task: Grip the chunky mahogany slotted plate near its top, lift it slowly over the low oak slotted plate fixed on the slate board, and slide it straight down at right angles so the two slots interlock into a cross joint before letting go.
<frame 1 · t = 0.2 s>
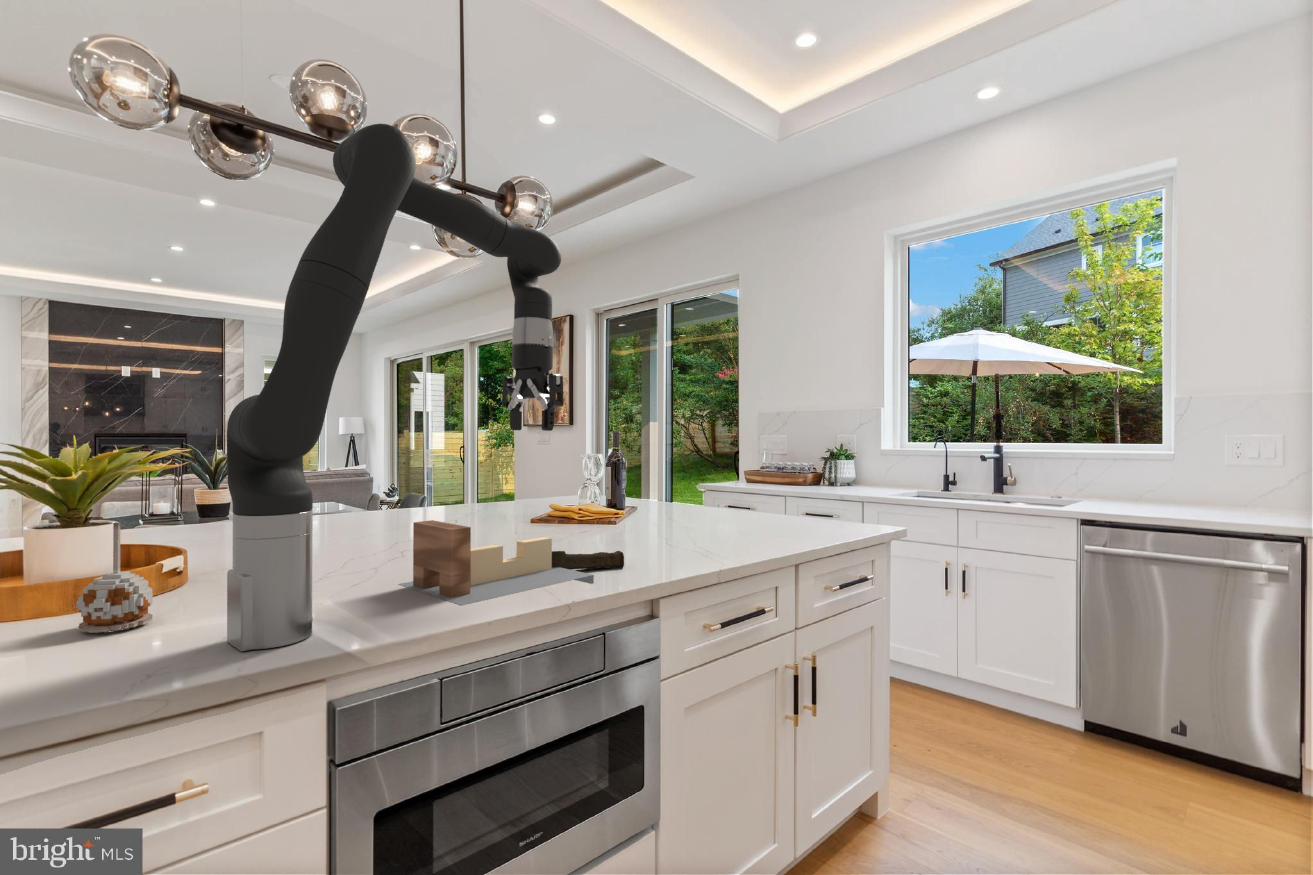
hand: (531, 430, 117), 29 cm above the worktop, fingers open, 8 cm apart
slotted plate stand: (499, 587, 113), on the worktop
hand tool: (581, 573, 127), on the worktop, touching slotted plate stand
decorative ornament: (116, 629, 89), on the worktop
mahogany slotted plate: (441, 589, 105), point 1 cm above the worktop, touching slotted plate stand
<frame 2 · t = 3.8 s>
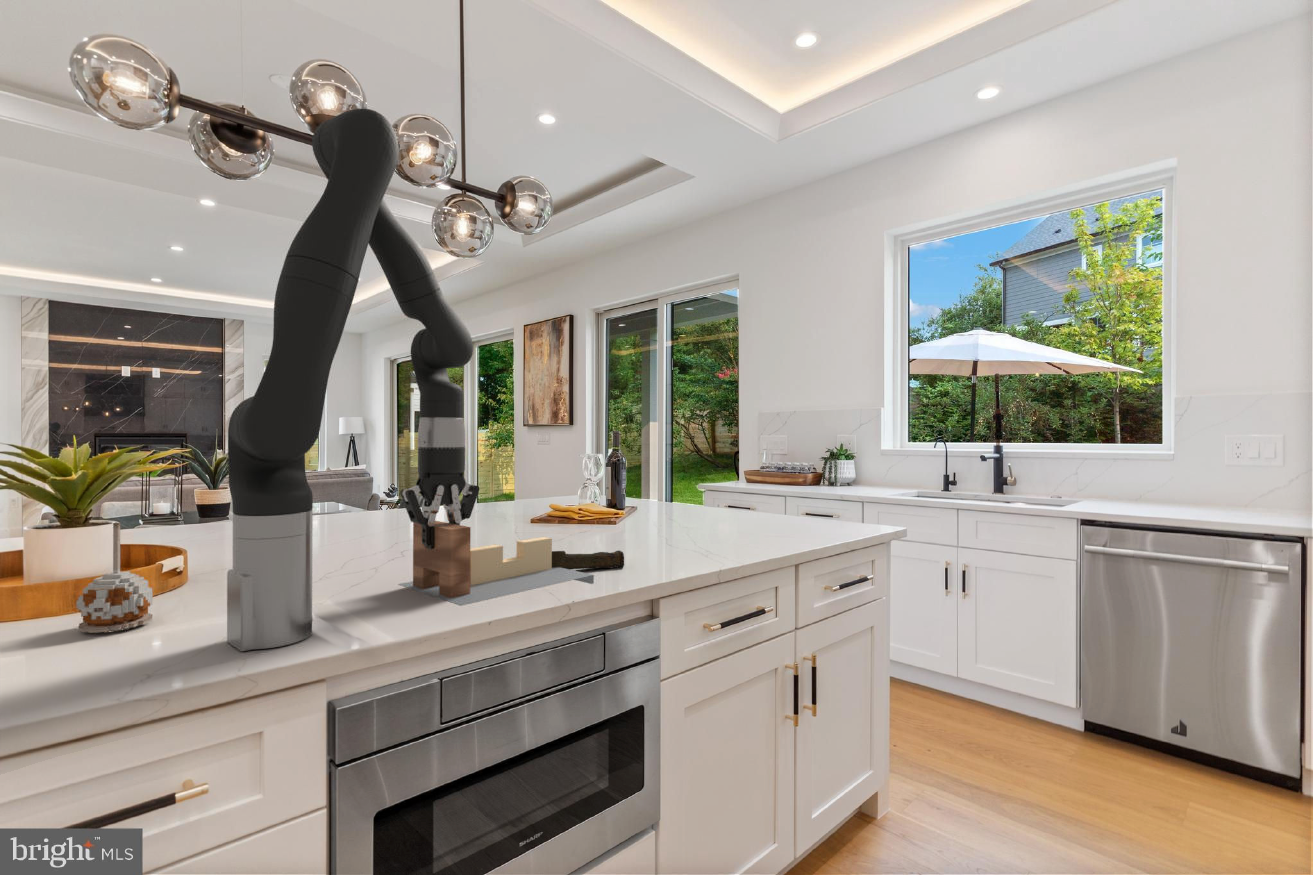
hand: (441, 546, 105), 9 cm above the worktop, fingers closed on mahogany slotted plate, 3 cm apart
mahogany slotted plate: (440, 589, 105), point 2 cm above the worktop, touching gripper
everything else where it was.
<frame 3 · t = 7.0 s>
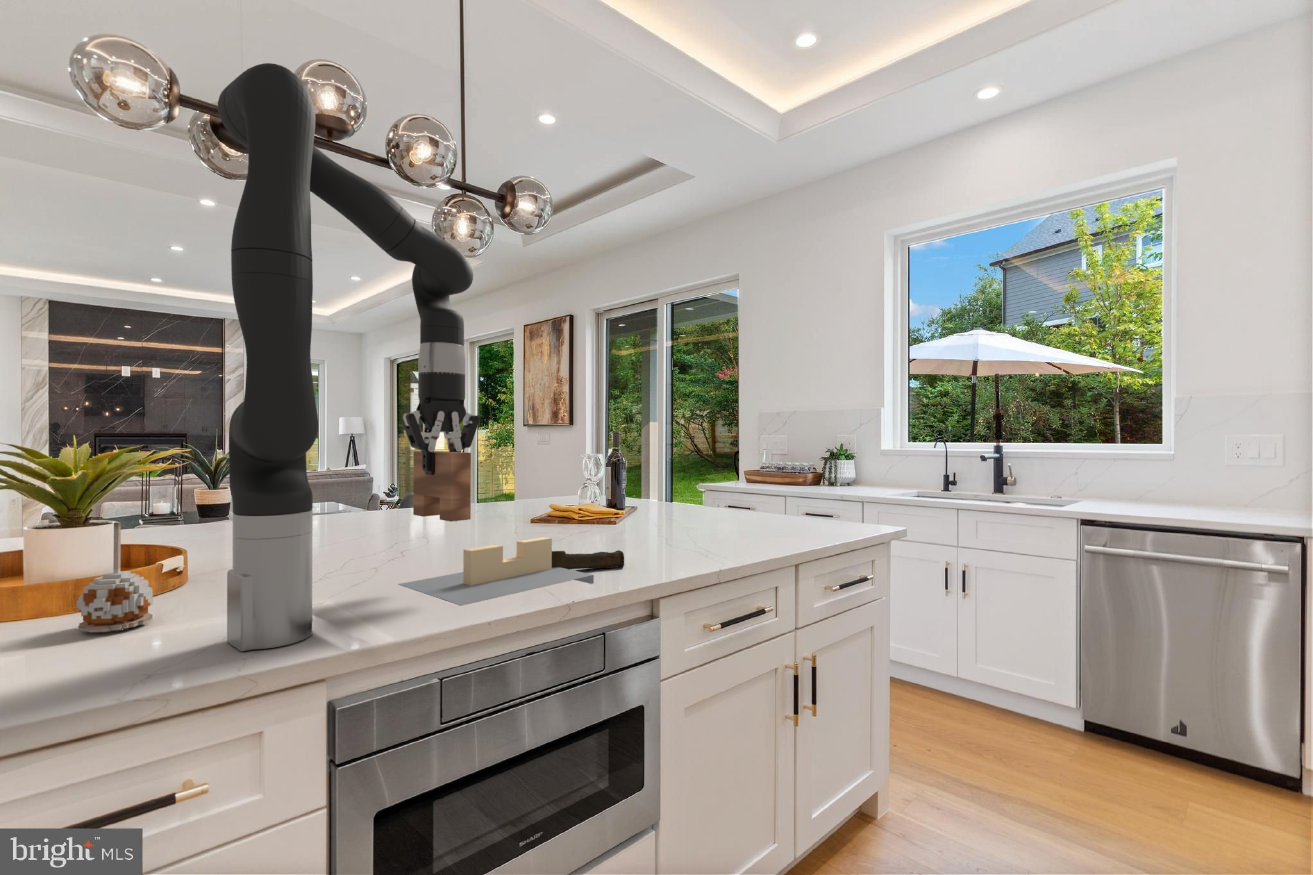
hand: (441, 473, 105), 21 cm above the worktop, fingers closed on mahogany slotted plate, 3 cm apart
mahogany slotted plate: (441, 517, 105), point 14 cm above the worktop, touching gripper
everything else where it was.
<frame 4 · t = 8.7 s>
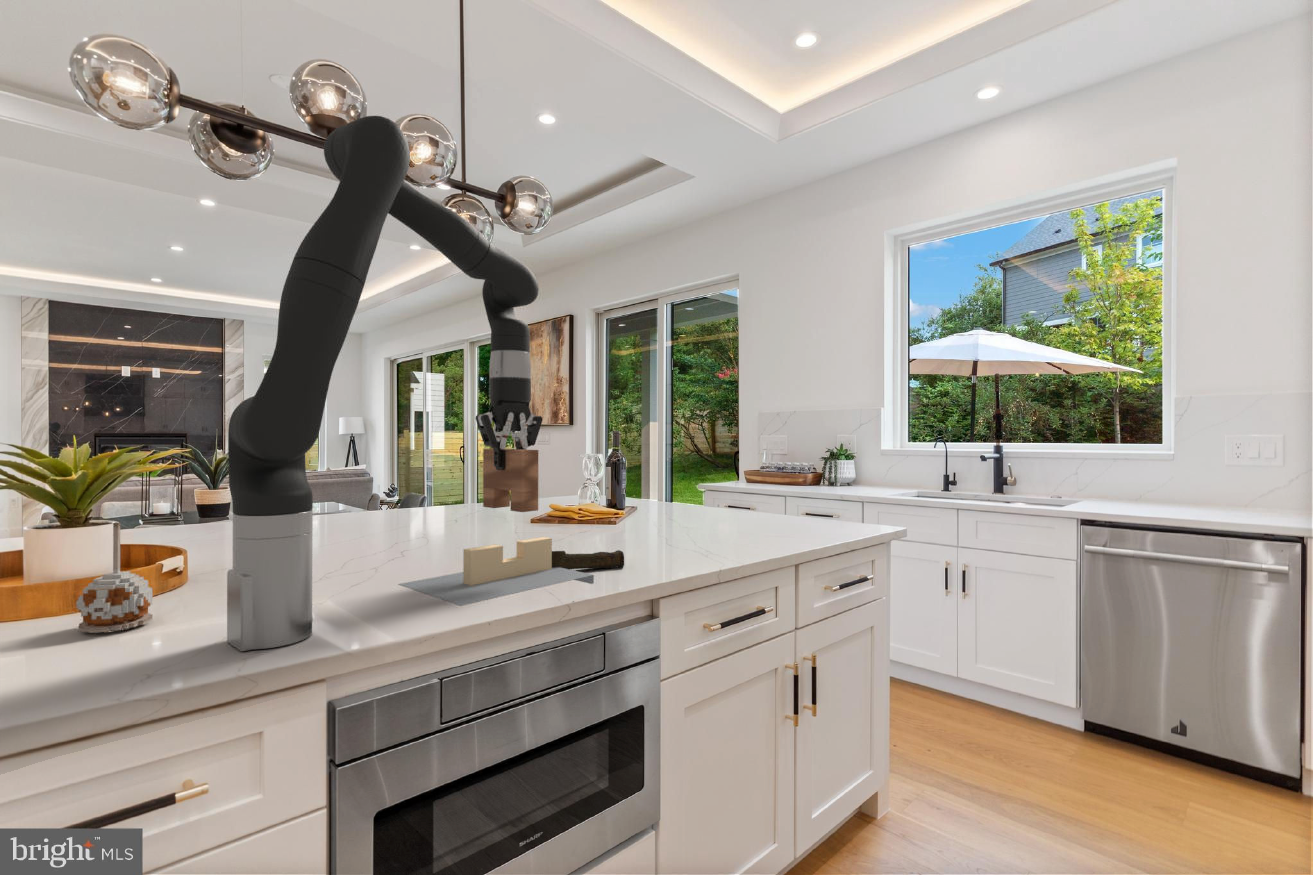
hand: (510, 469, 116), 21 cm above the worktop, fingers closed on mahogany slotted plate, 3 cm apart
mahogany slotted plate: (510, 508, 116), point 14 cm above the worktop, touching gripper
everything else where it was.
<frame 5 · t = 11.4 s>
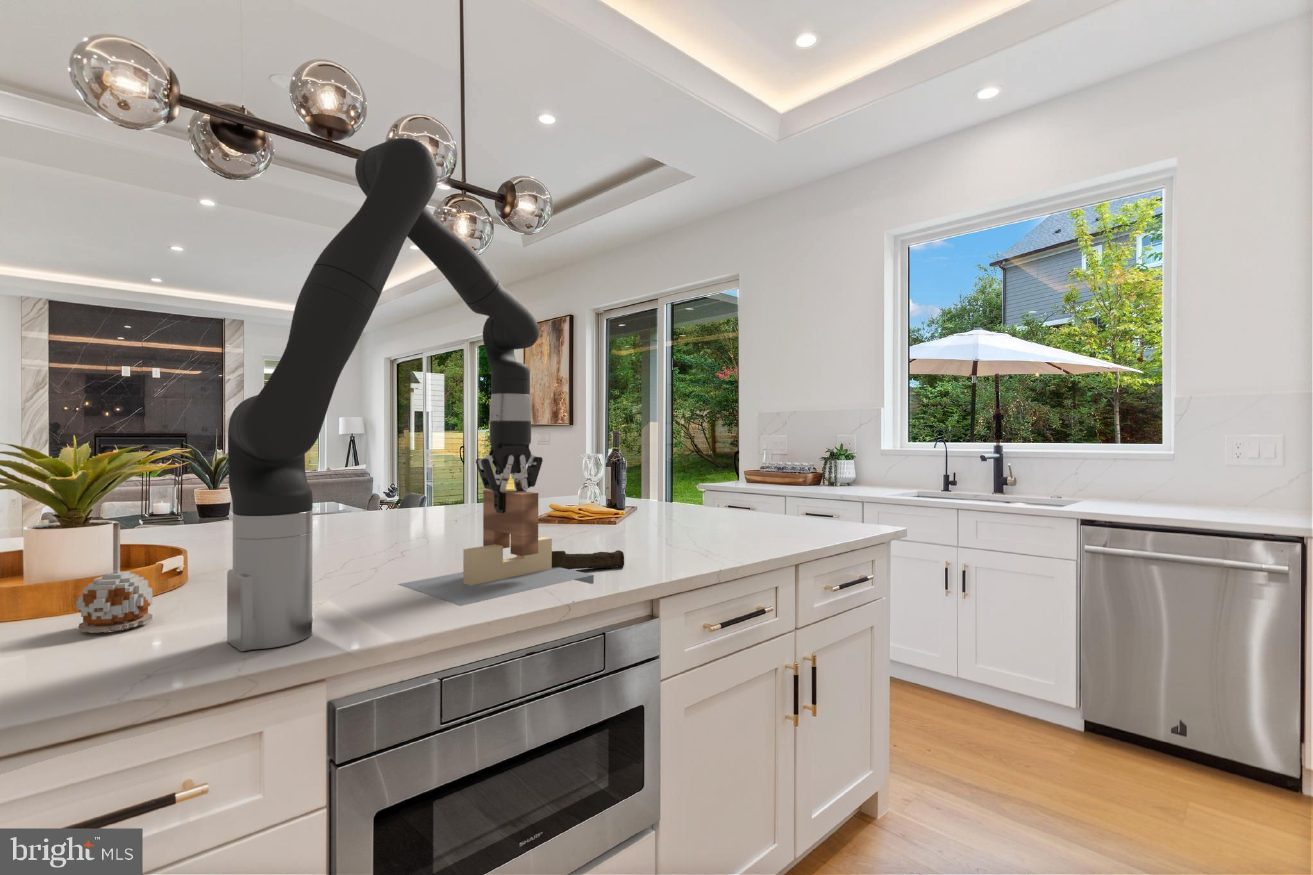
hand: (510, 511, 116), 14 cm above the worktop, fingers closed on mahogany slotted plate, 3 cm apart
mahogany slotted plate: (510, 550, 116), point 6 cm above the worktop, touching gripper
everything else where it was.
when the fingers open (9 cm above the worktop, at t = 13.8 s): mahogany slotted plate drops 3 cm, resting on slotted plate stand.
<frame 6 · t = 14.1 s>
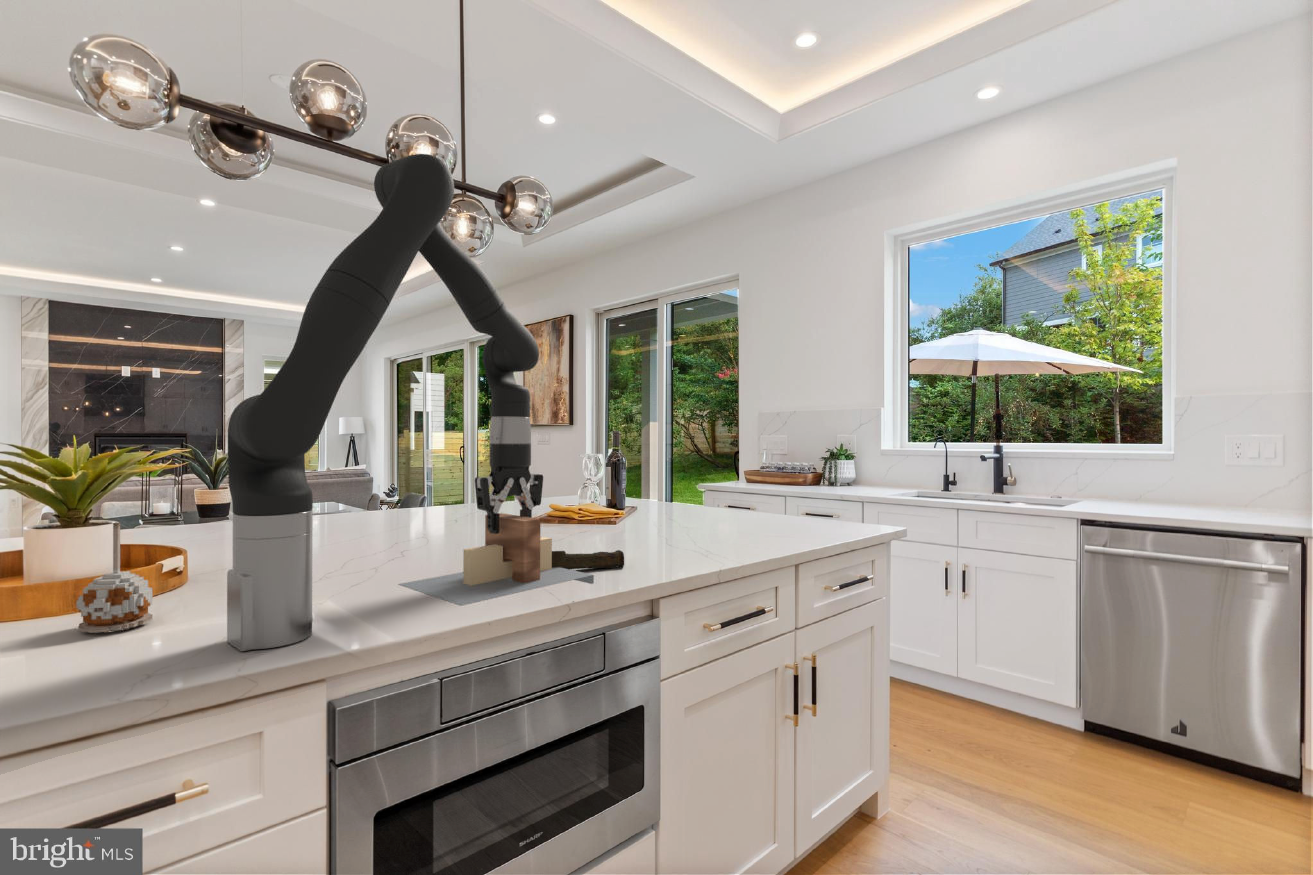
hand: (510, 530, 116), 10 cm above the worktop, fingers open, 6 cm apart
mahogany slotted plate: (512, 576, 115), point 1 cm above the worktop, touching slotted plate stand
everything else where it was.
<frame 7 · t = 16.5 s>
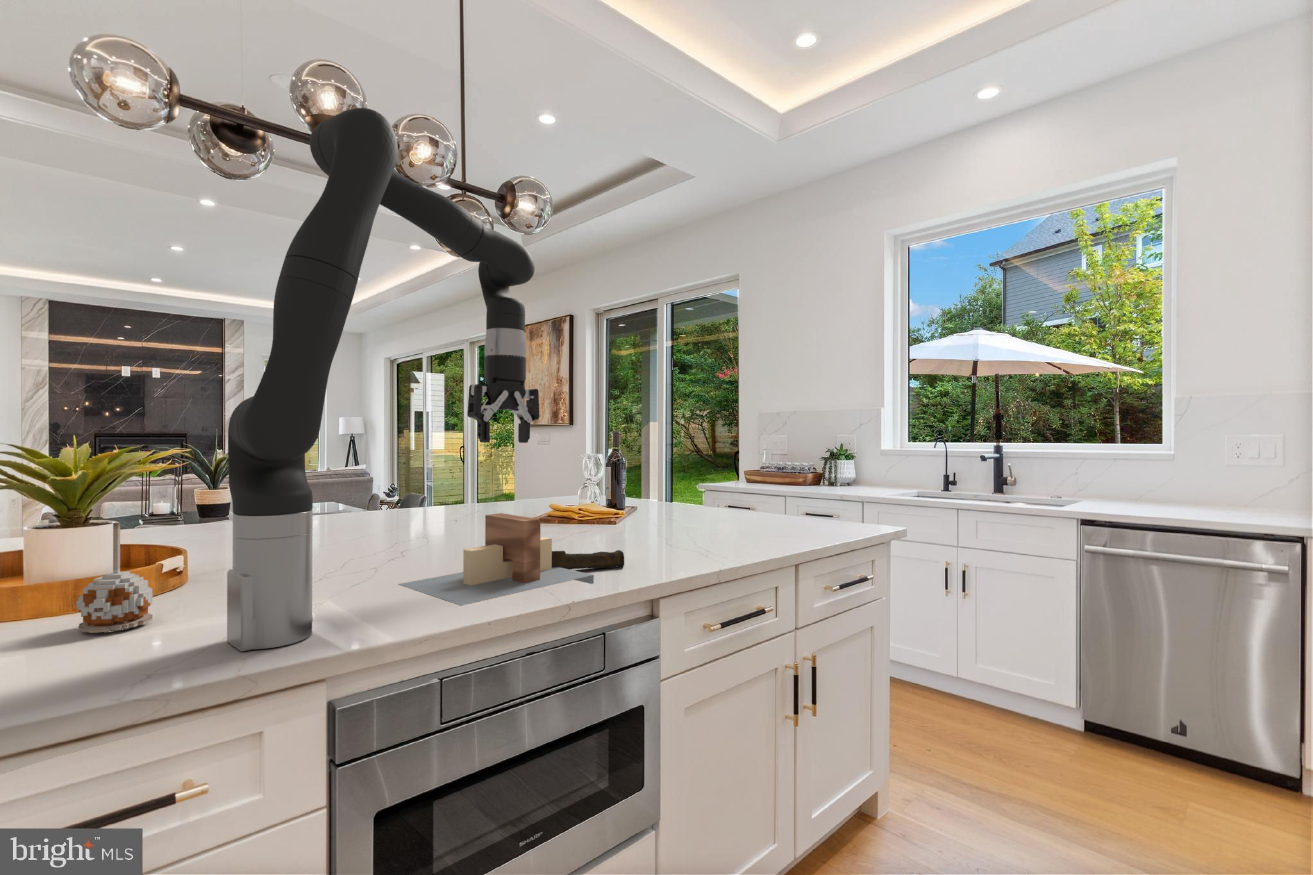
hand: (504, 442, 116), 26 cm above the worktop, fingers open, 8 cm apart
nothing on the worktop moved.
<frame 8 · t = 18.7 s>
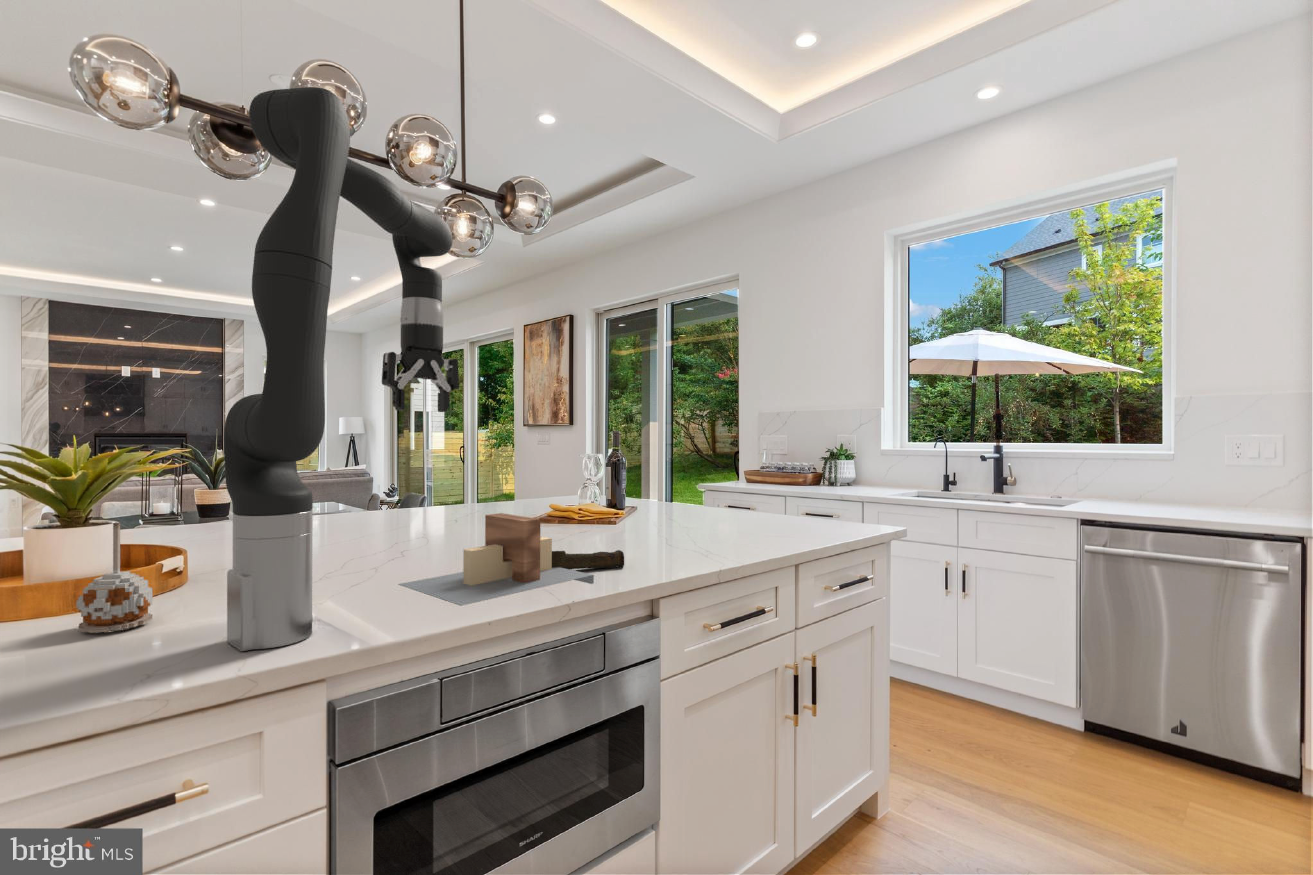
hand: (421, 411, 117), 32 cm above the worktop, fingers open, 8 cm apart
nothing on the worktop moved.
at the end: mahogany slotted plate 0.6 cm from the target spot on the slotted plate stand, point 1.5 cm above the slotted plate stand's base; mahogany slotted plate tilted 0°; the gripper is holding nothing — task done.
